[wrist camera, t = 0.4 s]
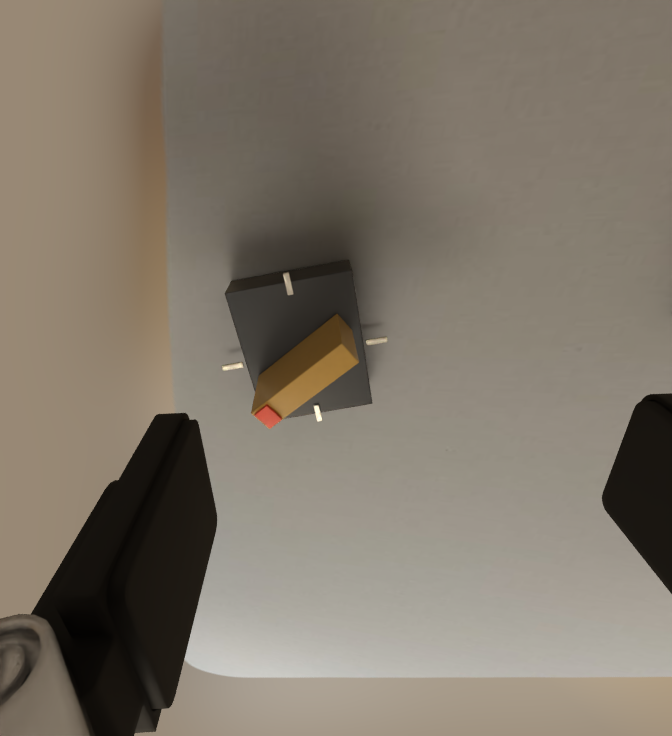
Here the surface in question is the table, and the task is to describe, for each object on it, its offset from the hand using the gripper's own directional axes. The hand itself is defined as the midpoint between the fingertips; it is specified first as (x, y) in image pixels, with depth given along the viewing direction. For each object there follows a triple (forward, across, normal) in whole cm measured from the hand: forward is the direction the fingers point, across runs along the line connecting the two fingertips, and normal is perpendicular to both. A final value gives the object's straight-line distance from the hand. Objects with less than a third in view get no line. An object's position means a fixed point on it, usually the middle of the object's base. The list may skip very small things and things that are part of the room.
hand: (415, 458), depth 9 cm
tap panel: (+21, +3, +6) cm, 22 cm away
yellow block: (+19, +3, +6) cm, 20 cm away
